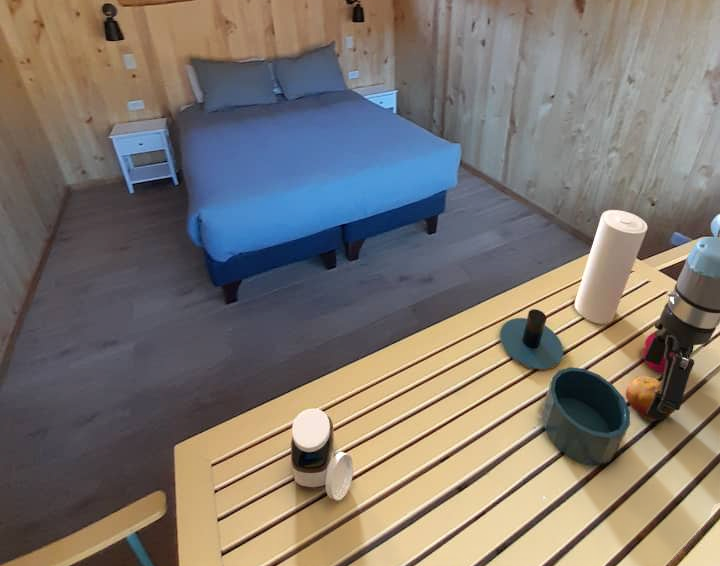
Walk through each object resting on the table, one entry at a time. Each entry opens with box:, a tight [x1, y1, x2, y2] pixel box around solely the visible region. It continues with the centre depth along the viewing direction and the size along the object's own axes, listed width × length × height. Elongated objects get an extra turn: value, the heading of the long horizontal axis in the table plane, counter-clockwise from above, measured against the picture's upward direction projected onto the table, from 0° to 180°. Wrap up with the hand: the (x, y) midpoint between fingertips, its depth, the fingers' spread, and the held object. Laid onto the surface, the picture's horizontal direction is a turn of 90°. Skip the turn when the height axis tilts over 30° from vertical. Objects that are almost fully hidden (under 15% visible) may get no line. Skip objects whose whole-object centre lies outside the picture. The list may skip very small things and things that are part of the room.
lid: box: [499, 308, 564, 371], centre depth 97 cm, size 15×15×10 cm
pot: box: [541, 366, 631, 467], centre depth 80 cm, size 14×14×10 cm
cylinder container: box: [574, 209, 648, 325], centre depth 102 cm, size 9×9×30 cm
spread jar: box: [290, 408, 354, 501], centre depth 74 cm, size 12×11×12 cm
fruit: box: [625, 376, 674, 423], centre depth 84 cm, size 8×8×8 cm
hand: (653, 387), depth 83 cm, fingers open, 13 cm apart
